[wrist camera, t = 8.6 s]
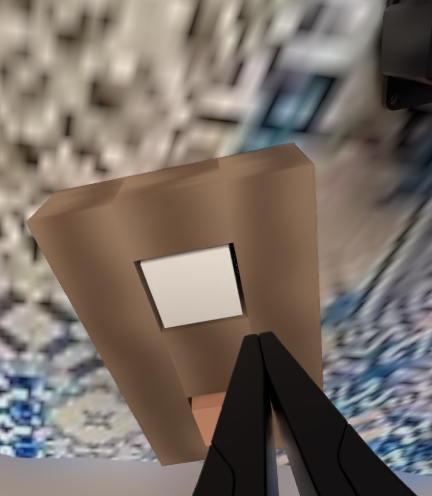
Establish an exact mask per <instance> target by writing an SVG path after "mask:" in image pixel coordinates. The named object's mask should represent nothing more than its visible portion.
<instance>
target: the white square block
mask: <svg viewBox="0 0 432 496" xmlns="http://www.w3.org/2000/svg"><path fill="white" fill-rule="evenodd" d="M140 265H141V267H142V270H143V272H144V275H145V278H146V280H147V283H148V286H149V288H150V291H151V293H152V296H153V299H154V301H155V304H156V306H157V309H158V312H159V314H160V317H161V319H162V322H163V325H164V327H165V328H168V327H174V326H180V325H186V324H191V323H197V322H203V321H208V320H214V319H220V318H226V317H231V316H237V315H243V314H242V308H241V302H240V295H239V289H238V283H237V277H236V272H235V267H234V262H233V257H232V252H231V247H230V243H228V244H223V245H217V246H212V247H207V248H202V249H196V250H191V251H186V252H180V253H175V254H170V255H165V256H159V257H154V258H149V259H143V260H141V264H140Z"/></svg>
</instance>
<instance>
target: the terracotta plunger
mask: <svg viewBox="0 0 432 496" xmlns="http://www.w3.org/2000/svg"><path fill="white" fill-rule="evenodd" d="M225 394H226V391H225V392H219V393H213V394H206V395H200V396H194V397H192V413H193V415H194V418H195V420H196V423H197V425H198V428H199V430H200V433H201V435H202V438H203V440H204V443H205V445H206V446H210V445H211V440H212V437H213V433H214V430H215V427H216V424H217V420H218V417H219V414H220V411H221V407H222V404H223V401H224V398H225Z"/></svg>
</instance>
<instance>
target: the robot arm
mask: <svg viewBox="0 0 432 496" xmlns="http://www.w3.org/2000/svg"><path fill="white" fill-rule="evenodd" d="M380 70H381V72H382V73H383V74H384V81H383V96H382V103H383V106H384V108H386V109H389V110H399V109H404V108H408V107H413V106H418V105H423V104H427V103H432V0H389V2H388V8H387V9H386V11H385V12H384V16H383V33H382V51H381V68H380ZM395 95H396V96H397V99H396V101H395V102H394V103H393V104H391V98H392V97H393V96H395ZM258 336H259V337H258ZM269 394H270V395H269ZM270 399H271V400H270ZM271 404H272V406H271ZM272 408H273V412H274V416H275V419H276V422H277V425H278V428H279V432H280V435H281V438H282V441H283V444H284V447H285V450H286V453H287V457H288V460H289V463H290V466H291V469H292V472H293V475H294V478H295V481H296V485H297V487H298V491H299V494H300V496H417V495H416V494H415V493H414V492H413V491H412V490H411V489H410V488H409V487H408V486H407V485H406V484H404V482H403V481H402V480H401V479H400V478H399V477H398V476H397V475H396V474H395V473H393V471H392V470H391V469H390V468H389V467H388V466H387V465H386V464H385V463H384V462H383V461H382V460H381V459H380V458H379V457H378V456H377V455H376V454H375V453H374V451H373V450H372V449H371V448H370V447H369V446H368V445H367V444H366V442H365V441H364V440H363V439H362V438H361V437H360V436H359V434H358V433H357V432H356V431H355V430H354V428H353V427H352V426H351V425H350V424H348V422H347V420H346V419H345V418H344V417H343V415H342V414H341V413H340V412H339V411H338V409H337V408H336V407H335V406H334V405H333V403H332V402H331V401H330V400H329V399H328V397H327V396H326V395H325V394H324V393H323V391H322V390H321V389H320V388H319V387H318V385H317V384H316V383H315V382H314V381H313V379H312V378H311V377H310V376H309V375H308V373H307V372H306V371H305V370H304V369H303V367H302V366H301V365H300V364H299V363H298V361H297V360H296V359H295V358H294V357H293V355H292V354H291V353H290V352H289V351H288V349H287V348H286V347H285V346H284V345H283V343H282V342H281V341H280V340H279V339H278V337H277V336H276V335H275V334H274V333H273V332H272V331H267V332H261V333H259V335H258V334H249V335H245V336H244V337H243V340H242V343H241V346H240V349H239V352H238V356H237V359H236V362H235V365H234V369H233V372H232V375H231V378H230V382H229V385H228V388H227V391H226V394H225V398H224V401H223V404H222V407H221V411H220V414H219V417H218V420H217V424H216V427H215V430H214V433H213V437H212V440H211V445H210V446H209V449H208V452H207V455H206V459H205V462H204V465H203V467H202V470H201V474H200V476H199V479H198V482H197V484H196V487H195V489H194V492H193V494H192V496H279V490H278V477H277V464H276V451H275V437H274V424H273V413H272Z"/></svg>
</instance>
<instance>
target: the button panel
mask: <svg viewBox="0 0 432 496" xmlns="http://www.w3.org/2000/svg"><path fill="white" fill-rule="evenodd" d="M26 224H27V226H28V227H29V229H30V231H31V233H32V234H33V236H34V238H35V240H36V242H37V243H38V245H39V247H40V249H41V251H42V252H43V254H44V256H45V258H46V259H47V261H48V263H49V265H50V267H51V268H52V270H53V272H54V274H55V276H56V277H57V279H58V281H59V283H60V284H61V286H62V288H63V290H64V292H65V293H66V295H67V297H68V299H69V301H70V302H71V304H72V306H73V308H74V309H75V311H76V313H77V315H78V317H79V318H80V320H81V322H82V324H83V326H84V327H85V329H86V331H87V333H88V334H89V336H90V338H91V340H92V342H93V343H94V345H95V347H96V349H97V351H98V352H99V354H100V356H101V358H102V359H103V361H104V363H105V365H106V367H107V368H108V370H109V372H110V374H111V376H112V377H113V379H114V381H115V383H116V384H117V386H118V388H119V390H120V392H121V393H122V395H123V397H124V399H125V401H126V402H127V404H128V406H129V408H130V409H131V411H132V413H133V415H134V417H135V418H136V420H137V422H138V424H139V426H140V427H141V429H142V431H143V433H144V434H145V436H146V438H147V440H148V442H149V443H150V445H151V447H152V449H153V451H154V452H155V454H156V456H157V458H158V459H159V461H160V463H161V465H162V466H166V465H173V464H179V463H186V462H193V461H200V460H205V459H206V455H207V452H208V449H209V446H206V445H205V443H204V440H203V438H202V435H201V433H200V430H199V428H198V425H197V423H196V420H195V418H194V415H193V413H192V397H194V396H200V395H206V394H213V393H219V392H225V391H227V388H228V385H229V382H230V378H231V375H232V372H233V369H234V365H235V362H236V359H237V356H238V352H239V349H240V346H241V343H242V340H243V337H244V336H245V335H249V334H258V335H259V333H261V332H267V331H272V332H273V333H274V334H275V335H276V336H277V337H278V339H279V340H280V341H281V342H282V343H283V345H284V346H285V347H286V348H287V349H288V351H289V352H290V353H291V354H292V355H293V357H294V358H295V359H296V360H297V361H298V363H299V364H300V365H301V366H302V367H303V369H304V370H305V371H306V372H307V373H308V375H309V376H310V377H311V378H312V379H313V381H314V382H315V383H316V384H317V385H318V387H319V388H320V389H321V390H322V391H323V373H322V348H321V323H320V299H319V274H318V249H317V224H316V199H315V174H314V164H313V163H312V162H311V161H310V160H309V158H308V157H307V156H306V155H305V154H304V153H303V152H302V151H301V150H300V149H299V148H298V147H297V146H296V145H295V144H294V143H288V144H283V145H278V146H273V147H269V148H264V149H259V150H254V151H249V152H244V153H240V154H235V155H230V156H225V157H220V158H215V159H211V160H206V161H201V162H196V163H191V164H186V165H182V166H177V167H172V168H167V169H162V170H157V171H153V172H148V173H143V174H138V175H133V176H128V177H124V178H119V179H114V180H109V181H104V182H99V183H95V184H90V185H85V186H80V187H75V188H70V189H66V190H61V191H56V192H55V193H54V194H53V195H52V196H51V197H50V198H49V199H48V200H47V201H46V202H45V203H44V204H43V205H42V206H41V207H40V208H39V209H38V210H37V212H36V213H35V214H34V215H33V216H32V217H31V218H30V219H29V220H28V221H27V222H26ZM233 242H234V247H235V252H236V257H237V263H238V268H239V273H240V278H239V279H237V283H238V289H239V295H240V302H241V308H242V314H243V315H237V316H231V317H226V318H220V319H214V320H208V321H203V322H197V323H191V324H186V325H180V326H174V327H168V328H165V327H164V325H163V322H162V319H161V317H160V314H159V312H158V309H157V306H156V304H155V301H154V299H153V296H152V293H151V291H150V288H149V286H148V283H147V280H146V278H145V275H144V272H143V270H142V267H141V265H140V264H141V260H143V259H149V258H154V257H159V256H165V255H170V254H175V253H180V252H186V251H191V250H196V249H202V248H207V247H212V246H217V245H223V244H228V243H233ZM258 337H259V336H258ZM269 395H270V394H269ZM270 400H271V399H270ZM271 406H272V404H271ZM272 413H273V424H274V437H275V449H282V448H285V447H284V444H283V441H282V438H281V435H280V432H279V428H278V425H277V422H276V419H275V416H274V412H273V408H272Z"/></svg>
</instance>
